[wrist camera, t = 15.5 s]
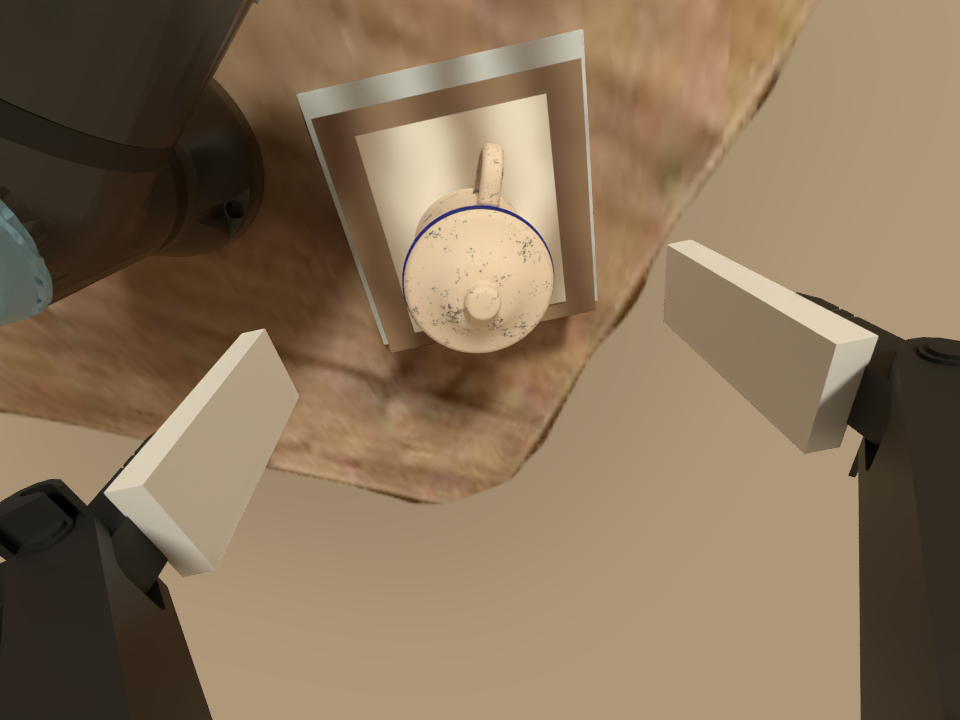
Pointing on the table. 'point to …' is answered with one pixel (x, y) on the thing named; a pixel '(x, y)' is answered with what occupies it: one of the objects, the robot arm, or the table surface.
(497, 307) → the teacup with lid
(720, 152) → the table surface
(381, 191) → the plinth
